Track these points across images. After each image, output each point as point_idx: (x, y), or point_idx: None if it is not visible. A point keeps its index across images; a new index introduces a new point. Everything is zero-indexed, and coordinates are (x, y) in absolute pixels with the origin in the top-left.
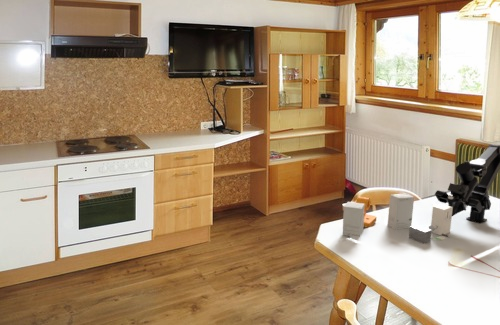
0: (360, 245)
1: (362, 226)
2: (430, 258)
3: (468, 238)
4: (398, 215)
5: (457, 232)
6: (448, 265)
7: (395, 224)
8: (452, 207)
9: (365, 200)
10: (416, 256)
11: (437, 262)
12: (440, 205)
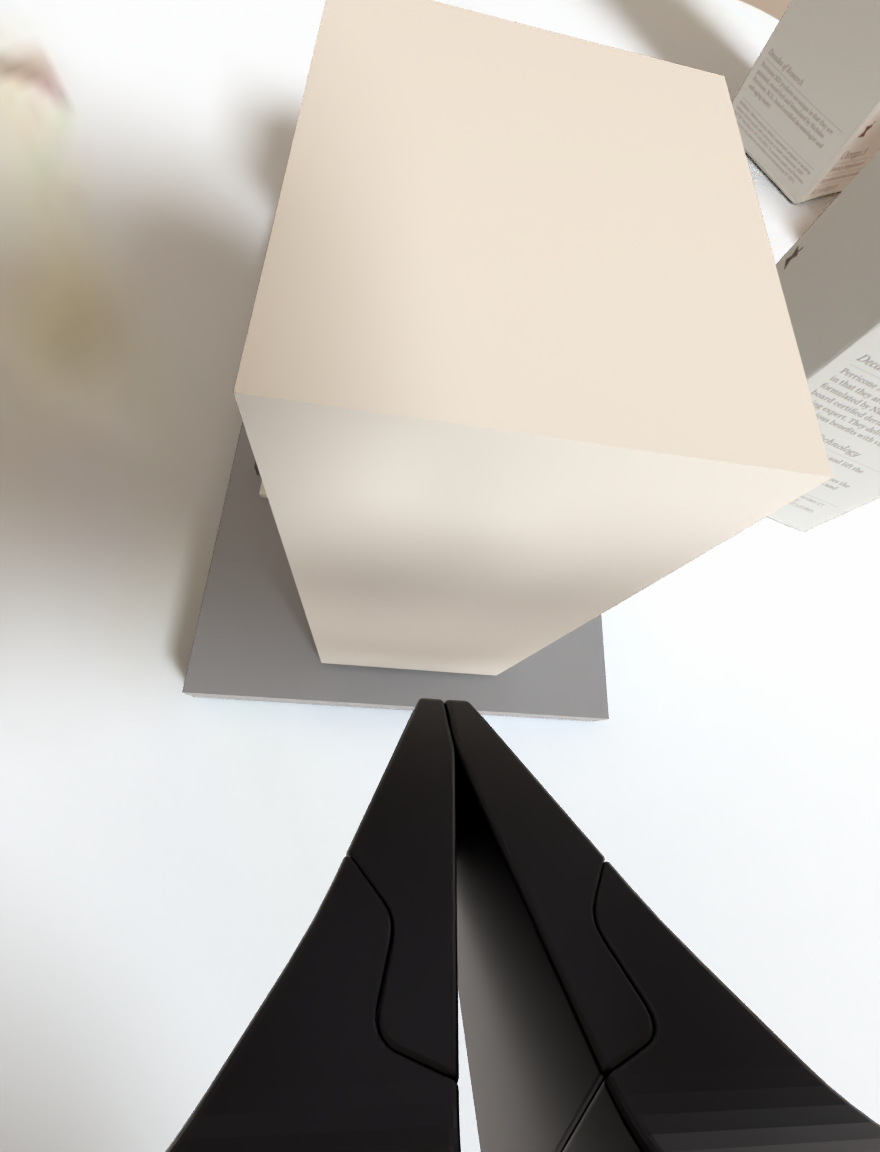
0: None
1: (812, 84)
2: (204, 88)
3: (65, 779)
4: (852, 194)
5: (293, 888)
6: (38, 54)
7: None
8: (239, 377)
9: None
10: (299, 73)
11: (131, 59)
12: (689, 261)
